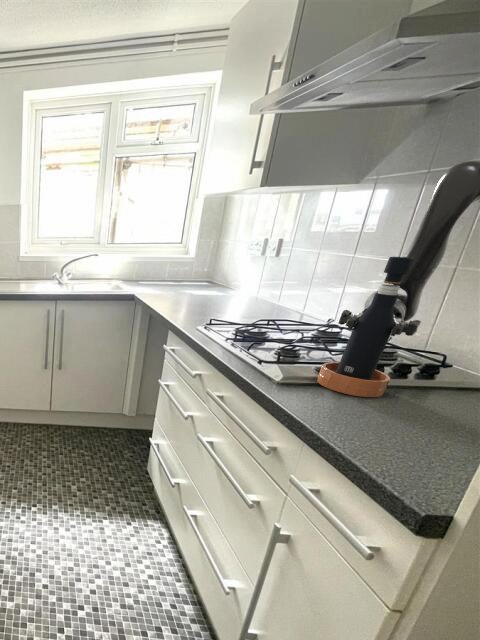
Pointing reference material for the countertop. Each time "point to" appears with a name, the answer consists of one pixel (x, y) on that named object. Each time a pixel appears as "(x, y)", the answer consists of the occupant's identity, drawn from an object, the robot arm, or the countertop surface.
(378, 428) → the countertop surface
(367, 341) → the dark water bottle
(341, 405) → the countertop surface
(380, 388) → the bowl
